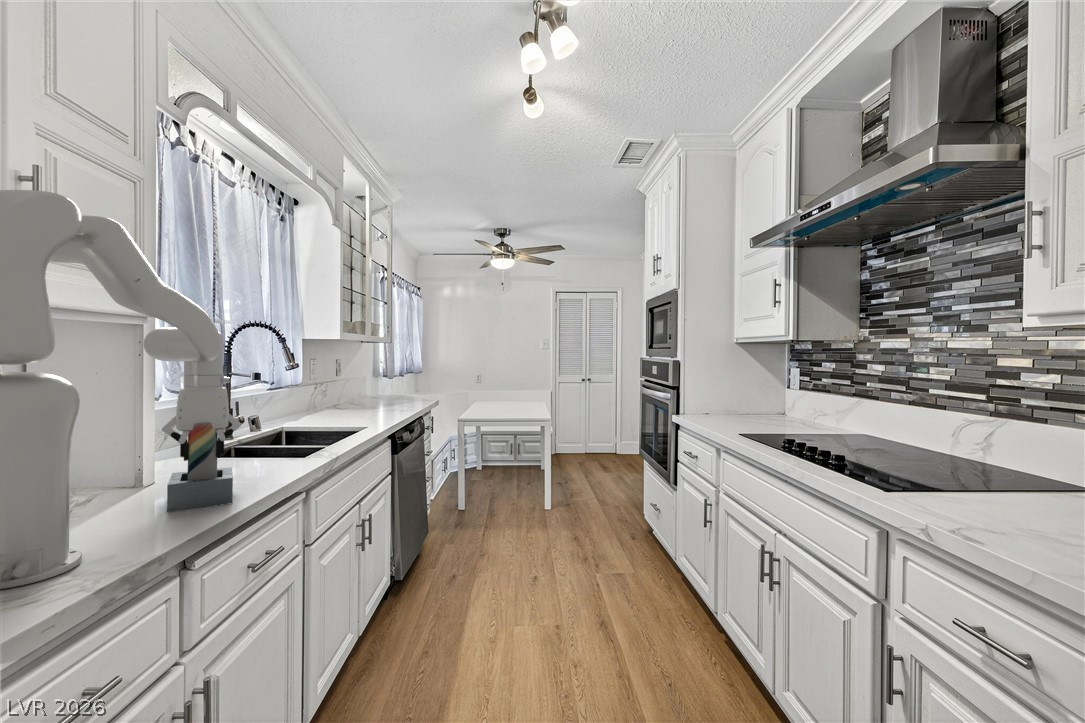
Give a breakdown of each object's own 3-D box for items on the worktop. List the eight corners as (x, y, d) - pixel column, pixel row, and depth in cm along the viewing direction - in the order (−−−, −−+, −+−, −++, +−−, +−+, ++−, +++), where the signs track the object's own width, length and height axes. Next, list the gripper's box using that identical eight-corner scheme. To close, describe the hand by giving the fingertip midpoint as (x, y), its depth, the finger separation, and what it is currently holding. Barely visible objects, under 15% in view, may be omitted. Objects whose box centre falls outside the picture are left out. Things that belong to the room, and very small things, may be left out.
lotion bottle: (193, 482, 114) (194, 399, 113) (220, 481, 115) (221, 399, 115) (183, 488, 108) (184, 402, 108) (211, 487, 110) (213, 402, 110)
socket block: (232, 503, 110) (232, 477, 110) (167, 511, 103) (167, 484, 103) (231, 490, 120) (232, 467, 120) (172, 497, 113) (172, 473, 113)
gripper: (245, 381, 119) (244, 451, 120) (158, 381, 110) (157, 459, 110) (247, 382, 113) (246, 457, 113) (154, 383, 103) (153, 465, 104)
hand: (202, 457), depth 112 cm, fingers closed on lotion bottle, 5 cm apart
